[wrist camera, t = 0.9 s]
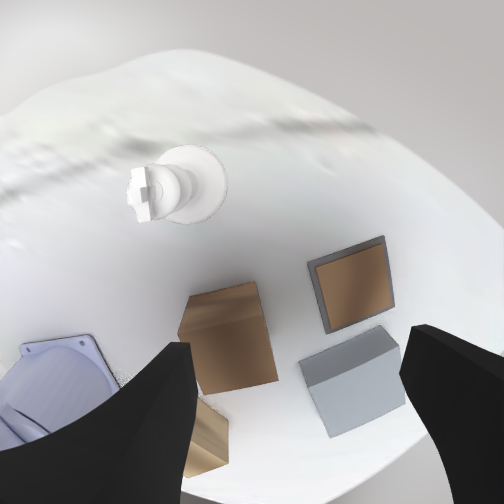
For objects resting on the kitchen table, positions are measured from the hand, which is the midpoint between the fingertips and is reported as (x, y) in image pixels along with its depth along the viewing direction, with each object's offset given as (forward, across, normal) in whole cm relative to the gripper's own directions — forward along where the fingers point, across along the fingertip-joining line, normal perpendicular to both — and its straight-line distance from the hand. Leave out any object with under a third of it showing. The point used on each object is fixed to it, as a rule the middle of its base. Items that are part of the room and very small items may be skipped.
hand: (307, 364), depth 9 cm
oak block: (+10, +7, +14) cm, 19 cm away
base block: (+11, -6, +10) cm, 17 cm away
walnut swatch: (+11, -6, +2) cm, 13 cm away
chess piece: (+11, +5, -5) cm, 13 cm away
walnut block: (+11, +3, +4) cm, 12 cm away
